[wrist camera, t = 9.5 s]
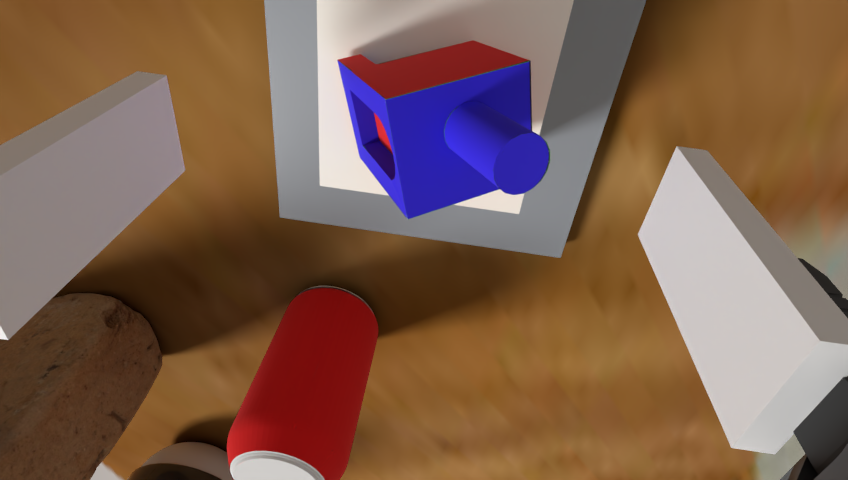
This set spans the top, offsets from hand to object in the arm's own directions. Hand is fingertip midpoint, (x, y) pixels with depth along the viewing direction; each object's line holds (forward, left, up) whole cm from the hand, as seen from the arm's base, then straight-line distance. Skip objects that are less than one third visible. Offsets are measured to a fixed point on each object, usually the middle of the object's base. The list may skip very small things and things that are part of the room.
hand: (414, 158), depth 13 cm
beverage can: (+18, -5, -13) cm, 23 cm away
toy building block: (0, 0, -5) cm, 5 cm away
